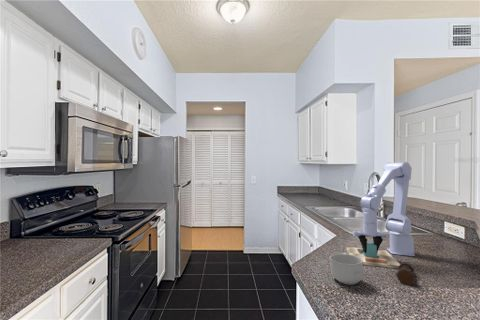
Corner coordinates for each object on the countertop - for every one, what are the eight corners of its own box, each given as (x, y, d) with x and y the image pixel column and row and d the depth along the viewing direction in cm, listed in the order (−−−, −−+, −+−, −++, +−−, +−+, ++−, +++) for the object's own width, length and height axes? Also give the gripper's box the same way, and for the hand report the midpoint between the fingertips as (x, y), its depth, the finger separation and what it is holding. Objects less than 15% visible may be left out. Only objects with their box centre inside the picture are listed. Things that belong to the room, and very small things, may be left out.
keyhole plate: (386, 253, 115) (386, 247, 115) (402, 269, 96) (402, 262, 96) (346, 249, 120) (346, 244, 120) (353, 263, 101) (353, 257, 101)
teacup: (361, 291, 77) (361, 266, 78) (326, 282, 83) (326, 259, 83) (365, 275, 89) (364, 254, 89) (334, 269, 95) (334, 248, 95)
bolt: (408, 276, 94) (408, 289, 82) (395, 266, 97) (393, 278, 85) (417, 264, 93) (418, 276, 81) (403, 255, 96) (403, 265, 83)
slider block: (372, 255, 112) (372, 242, 112) (376, 259, 107) (376, 245, 107) (363, 254, 112) (363, 241, 113) (367, 258, 107) (367, 244, 108)
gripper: (382, 221, 113) (383, 250, 112) (350, 220, 115) (350, 248, 114) (390, 224, 106) (390, 256, 105) (355, 223, 108) (355, 253, 107)
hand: (370, 252), depth 109 cm, fingers closed on slider block, 4 cm apart
